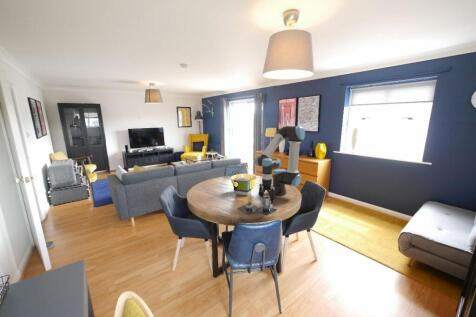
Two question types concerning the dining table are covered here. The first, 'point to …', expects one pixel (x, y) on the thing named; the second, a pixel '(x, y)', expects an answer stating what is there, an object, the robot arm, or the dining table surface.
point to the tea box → (242, 186)
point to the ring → (265, 200)
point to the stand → (266, 210)
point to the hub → (249, 207)
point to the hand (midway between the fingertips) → (266, 206)
